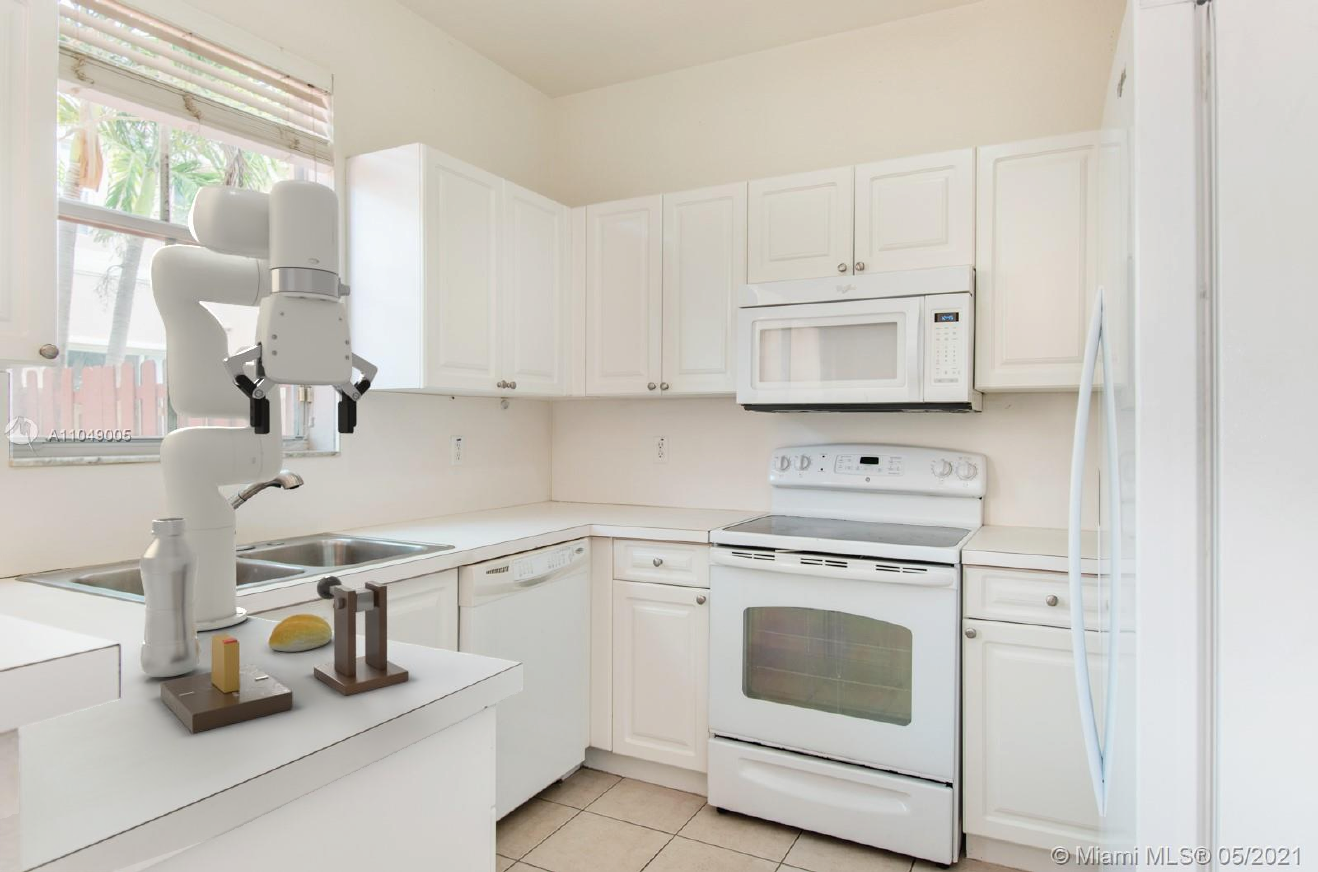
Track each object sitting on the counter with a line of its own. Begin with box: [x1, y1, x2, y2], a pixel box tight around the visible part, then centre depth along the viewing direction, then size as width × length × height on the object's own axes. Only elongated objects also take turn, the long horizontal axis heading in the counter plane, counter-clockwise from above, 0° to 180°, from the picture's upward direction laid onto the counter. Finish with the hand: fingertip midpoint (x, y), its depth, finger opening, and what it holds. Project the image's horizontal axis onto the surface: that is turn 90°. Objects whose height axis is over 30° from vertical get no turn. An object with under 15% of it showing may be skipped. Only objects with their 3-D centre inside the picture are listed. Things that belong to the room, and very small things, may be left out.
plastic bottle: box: [138, 517, 202, 678], centre depth 99 cm, size 6×7×20 cm
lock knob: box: [210, 632, 240, 693], centre depth 89 cm, size 5×2×6 cm, turn 44°
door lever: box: [316, 575, 374, 613], centre depth 102 cm, size 13×3×3 cm, turn 44°
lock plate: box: [160, 663, 293, 734], centre depth 89 cm, size 14×10×2 cm
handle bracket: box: [313, 580, 410, 696], centre depth 98 cm, size 10×8×12 cm
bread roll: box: [268, 613, 333, 653], centre depth 113 cm, size 8×9×4 cm
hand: (305, 433), depth 92 cm, fingers open, 9 cm apart
